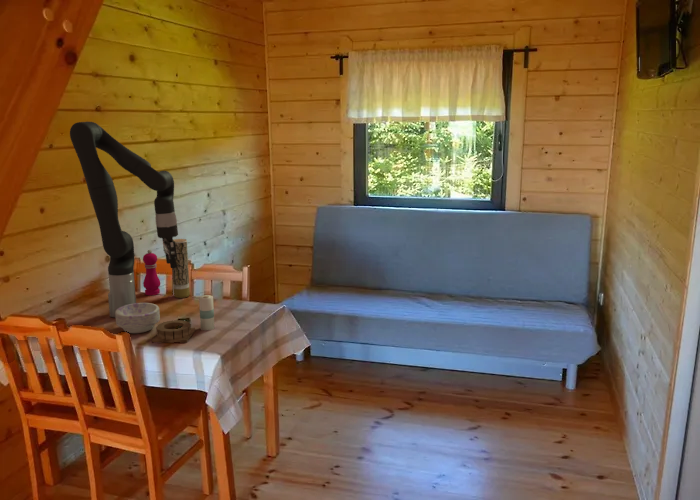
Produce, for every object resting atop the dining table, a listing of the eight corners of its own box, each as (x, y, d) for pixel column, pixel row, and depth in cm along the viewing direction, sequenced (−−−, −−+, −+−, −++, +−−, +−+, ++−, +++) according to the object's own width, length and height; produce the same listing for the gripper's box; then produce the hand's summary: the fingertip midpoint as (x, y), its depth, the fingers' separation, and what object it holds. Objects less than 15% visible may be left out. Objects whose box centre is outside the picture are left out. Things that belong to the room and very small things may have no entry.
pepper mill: (140, 294, 255) (137, 250, 251) (151, 290, 262) (148, 247, 258) (153, 296, 253) (150, 252, 248) (164, 292, 259) (161, 248, 255)
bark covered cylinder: (185, 299, 250) (182, 242, 244) (170, 297, 251) (167, 241, 246) (192, 294, 256) (189, 239, 251) (178, 293, 258) (175, 238, 252)
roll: (199, 330, 213) (197, 299, 210) (202, 325, 217) (200, 294, 215) (213, 330, 213) (211, 299, 210) (215, 325, 218) (214, 294, 215)
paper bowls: (136, 339, 203) (135, 318, 202) (107, 331, 211) (105, 311, 209) (169, 326, 216) (168, 306, 215) (140, 319, 224) (139, 300, 222)
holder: (152, 342, 201) (151, 331, 200) (162, 330, 212) (161, 320, 211) (186, 342, 201) (186, 331, 200) (195, 330, 213) (194, 320, 212)
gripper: (153, 222, 224) (158, 263, 227) (159, 228, 211) (164, 271, 215) (173, 220, 227) (178, 260, 231) (180, 225, 214) (185, 268, 218)
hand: (171, 265), depth 223 cm, fingers open, 8 cm apart
